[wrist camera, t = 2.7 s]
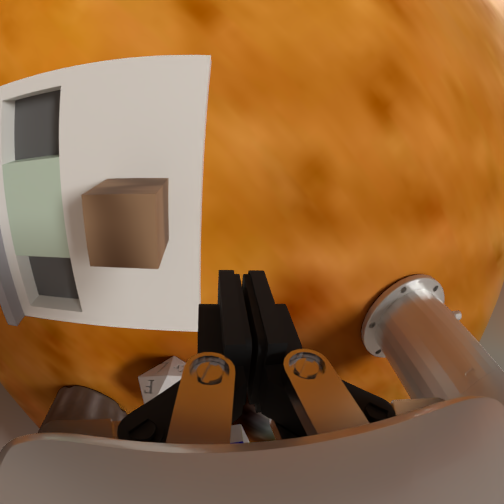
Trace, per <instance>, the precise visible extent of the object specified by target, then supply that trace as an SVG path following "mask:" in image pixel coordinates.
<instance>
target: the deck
mask: <svg viewBox="0 0 504 504" xmlns="http://www.w3.org/2000/svg"><path fill="white" fill-rule="evenodd" d="M210 70H211V55H166V56H147V57H134V58H124V59H115V60H108V61H101V62H94V63H88V64H82V65H77V66H72V67H67V68H63V69H58V70H54V71H50V72H46V73H42V74H38V75H34V76H31V77H28V78H24V79H21V80H18V81H15V82H12V83H9V84H6V85H3V86H0V305H1V308H2V310H3V313H4V315H5V318H6V320H7V323H8V324H9V325H14V326H18V324H19V323H20V321H21V320H22V319H23V317H24V316H31V317H37V318H44V319H51V320H58V321H65V322H73V323H82V324H91V325H101V326H111V327H123V328H136V329H151V330H169V331H195V332H198V308H199V304H201V285H200V276H201V213H202V185H203V163H204V146H205V130H206V116H207V103H208V91H209V80H210ZM113 178H169V186H168V213H169V241H168V244H167V246H166V249H165V252H164V255H163V258H162V260H161V263H160V266H159V269H140V268H116V267H94V266H90V262H89V256H88V250H87V243H86V236H85V228H84V219H83V209H82V198H81V195H82V194H84V193H85V192H87V191H88V190H90V189H91V188H93V187H95V186H96V185H98V184H99V183H101V182H103V181H104V180H106V179H113Z"/></svg>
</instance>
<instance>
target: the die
mask: <svg viewBox="0 0 504 504" xmlns="http://www.w3.org/2000/svg"><path fill="white" fill-rule="evenodd" d="M185 364H186V363H185V362H184V361H182V360H180V359H179V358H177V357H175V356H173V357H171V358H169V359H168V360H166V361H164V362H162V364H159V365H157V366H156V367H154V368H152V369H150V370H149V371H147V372H145V373H144V374H142V375H140V376H138V379H139V384H140V388H141V393H142V397H143V401H144V404H145V403H147V402H148V401H150V400H151V399H153V398H154V397H156V396H157V395H159V394H160V393H162V392H163V391H165V390H166V389H168V388H169V387H171V386H172V385H173V384H175V383H176V382H178V381H179V380H181V377H182V373H183V369H184V366H185Z"/></svg>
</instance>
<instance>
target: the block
mask: <svg viewBox="0 0 504 504" xmlns="http://www.w3.org/2000/svg"><path fill="white" fill-rule="evenodd" d="M168 186H169V178H113V179H106V180H104V181H103V182H101V183H99V184H98V185H96V186H95V187H93V188H91V189H90V190H88V191H87V192H85V193H84V194H82V195H81V198H82V209H83V219H84V228H85V236H86V243H87V250H88V256H89V262H90V266H94V267H116V268H140V269H159V266H160V263H161V260H162V258H163V255H164V252H165V249H166V246H167V244H168V241H169V213H168Z"/></svg>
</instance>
